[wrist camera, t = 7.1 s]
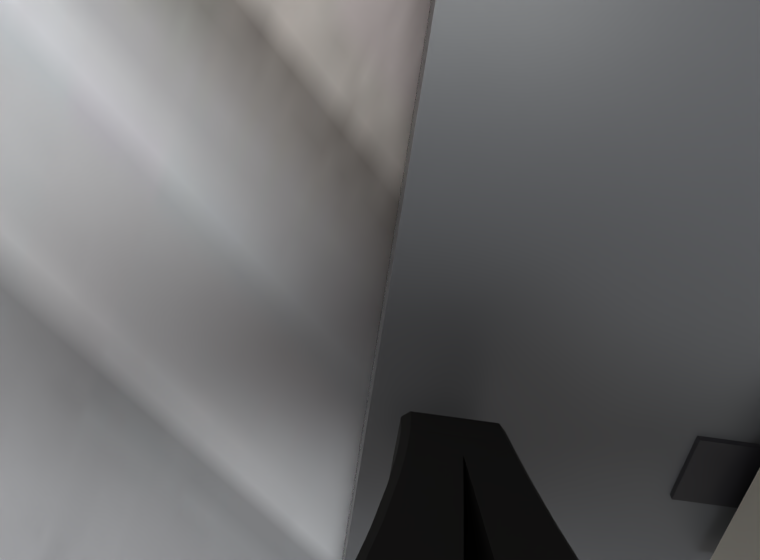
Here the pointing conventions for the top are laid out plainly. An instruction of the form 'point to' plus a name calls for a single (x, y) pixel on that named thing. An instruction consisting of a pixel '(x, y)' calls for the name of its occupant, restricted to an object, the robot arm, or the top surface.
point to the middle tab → (743, 529)
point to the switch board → (583, 263)
